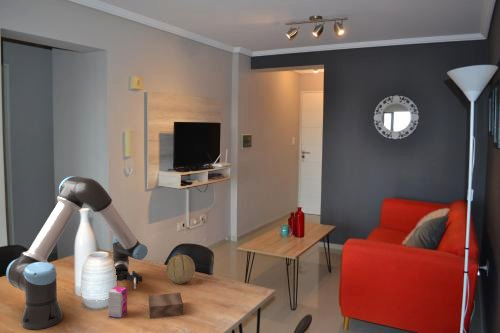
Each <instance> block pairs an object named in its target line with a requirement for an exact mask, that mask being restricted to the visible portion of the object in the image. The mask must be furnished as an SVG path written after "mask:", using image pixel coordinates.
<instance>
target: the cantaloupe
mask: <svg viewBox="0 0 500 333" xmlns="http://www.w3.org/2000/svg"><path fill="white" fill-rule="evenodd" d="M166 274H167V276H168V278H169V280H170V281H171V282H173V283H175V284H178V285H179V284H180V285H183V284H185V283H188V282H190V281H191V280H192V279H193V277H194V276H195V274H196V266H195V261H194V260H193V259H192V257H191V256H189V255H186V254H181V253H180V252H178V253H176V255H174V256H172V257H171V258H170V259H169V261H168V262H167V265H166Z"/></svg>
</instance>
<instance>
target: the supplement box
mask: <svg viewBox="0 0 500 333" xmlns="http://www.w3.org/2000/svg"><path fill="white" fill-rule="evenodd" d="M126 314H128V288H127V287H124V286H123V287H120V286H114V287H113V288H111V289H110V290H109V291H108V318H111V319H122V317H124V316H125V315H126Z"/></svg>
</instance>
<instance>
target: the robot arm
mask: <svg viewBox="0 0 500 333" xmlns="http://www.w3.org/2000/svg"><path fill="white" fill-rule="evenodd" d="M58 193H59V194H58V195H57V197H56V200H57V204H56V205H55V207H54V209H53V210H52V211H51V213H50V214H49V216H48V217H47V219H46V221H45V223H44V224H43V226H42V227H41V229H40V231H39V232H38V234H37V235H36V237H35V239H34V240H33V242H31V243H32V244H31V245H30V247H29V248H28V250H27V251H22V252H21V254H20V256H19V257H18V258H16V259H14V260H12V261H11V262H10V263H9V264H8V266H7V268H6V272H5V275H6V276H5V277H6V279H7V280H6V281H8V283H9V284H11V286H13V287H14V288H17V289H19V290H20V291H22V292H24V295H25V297H24V298H25V299H24V300H25V307H24V310H23V313H22V317H21V326H22V328H24V329H27V330H41V329H46V328H50V327H52V326H55V325H57V324H59V322H61V321H62V320H63V311H62V308H61V306H60V304H59V301H58V289H57V288H58V285H57V270H56V266H55V265H54V264H53V263H50V262H48V258H49V256H50V254H51V253H52V251H53V250H54V248H55V246H56V244H57V243H58V241H59V240H60V237H61V236H62V234H64V231H65V229H66V228H67V226H68V224H69V223H70V221H71V220H72V218H73V216H74V215H75V214H76V211H80V210H82V208H83V206H84V205H86V206H88V207H89V208H90V209H91V210H92V211H93V213H97V214H98V215H99V217H100V218H101V219H102V221H103V222H104V223H105V224H106V226H107V227H108V229H109V230H110V232H112V234H113V237H112V254H113V257H112V258H113V259H112V260H113V261H114V263H113V265H114V264H115V269H116V275H117V280H116V281H119V282H121V281H129V282H132V283H133V289H134V290H136V289H137V285H139V282H140V283H142V282H143V276H142V275H140V274H139V273H137V272H136V271H135V270H132V271H131V272H129V265H130V259H129V258H132V259H134V260H139V261H141V260H143V259H145V258H146V256H148V252H149V250H148V247H147V245H145V244H144V243H140V241H139V240H138V238H137V237H136V236H135V234H134V233H133V231H132V229H131V228H130V227H129V225H128V224H127V222H126V221H125V220H124V218H123V217H122V216H121V215H122V214H120V213H119V211H118V210H117V208H116V207H115V205H114V204H113V199H112V197H111V195H110V194H109V192H107V190H106V189H105V187H103V186H102V184H100V183H99V182H98V181H97V180H95V179H93V178H87V177H82V176H79V175H73V176H68V177H66V178H64V179H63V180H62V181H61V182H60V184H59V187H58Z"/></svg>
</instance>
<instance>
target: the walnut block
mask: <svg viewBox="0 0 500 333" xmlns="http://www.w3.org/2000/svg"><path fill="white" fill-rule="evenodd" d="M148 310H149V311H148V313H149V319H157V318H165V317H175V316H182V315H184V302H183V298H182V294H181V292H174V293H161V294H151V295H148Z"/></svg>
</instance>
